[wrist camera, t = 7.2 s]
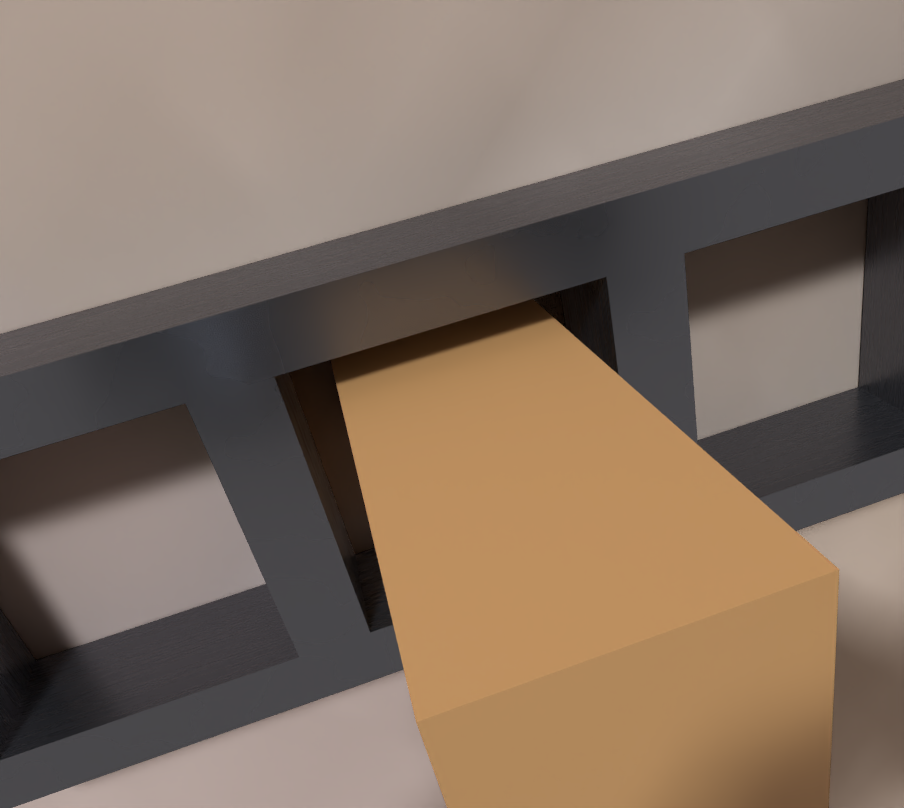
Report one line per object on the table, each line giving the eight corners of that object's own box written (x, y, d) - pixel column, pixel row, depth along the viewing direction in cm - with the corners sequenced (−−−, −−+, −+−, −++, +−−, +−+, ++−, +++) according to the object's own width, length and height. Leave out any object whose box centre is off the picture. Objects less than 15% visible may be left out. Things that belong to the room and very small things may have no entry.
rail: (949, 66, 15) (1072, 67, 12) (916, 408, 18) (1006, 456, 16) (-267, 409, 12) (-384, 488, 10) (-18, 725, 16) (-62, 833, 14)
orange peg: (522, 289, 14) (840, 569, 7) (552, 456, 16) (827, 829, 8) (327, 347, 14) (416, 722, 6) (381, 512, 16) (502, 961, 8)
